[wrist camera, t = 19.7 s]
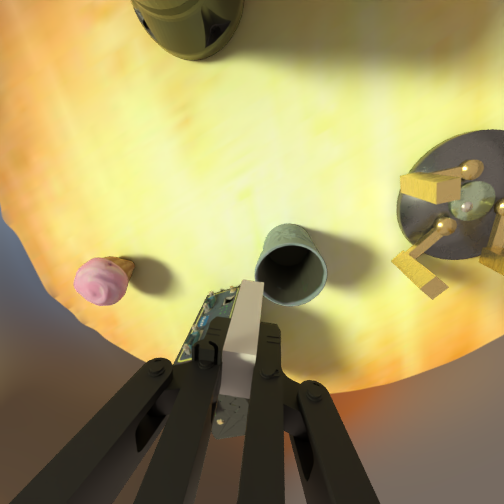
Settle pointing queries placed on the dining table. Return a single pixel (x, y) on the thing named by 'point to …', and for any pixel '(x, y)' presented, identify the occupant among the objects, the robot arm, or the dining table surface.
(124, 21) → the dining table surface
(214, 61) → the dining table surface
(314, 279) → the grey cup
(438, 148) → the levelling plate
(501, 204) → the ball-tipped golden bracket
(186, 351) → the router
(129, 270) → the cupcake
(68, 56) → the dining table surface
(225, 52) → the dining table surface
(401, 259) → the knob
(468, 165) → the tan l-shaped bracket
